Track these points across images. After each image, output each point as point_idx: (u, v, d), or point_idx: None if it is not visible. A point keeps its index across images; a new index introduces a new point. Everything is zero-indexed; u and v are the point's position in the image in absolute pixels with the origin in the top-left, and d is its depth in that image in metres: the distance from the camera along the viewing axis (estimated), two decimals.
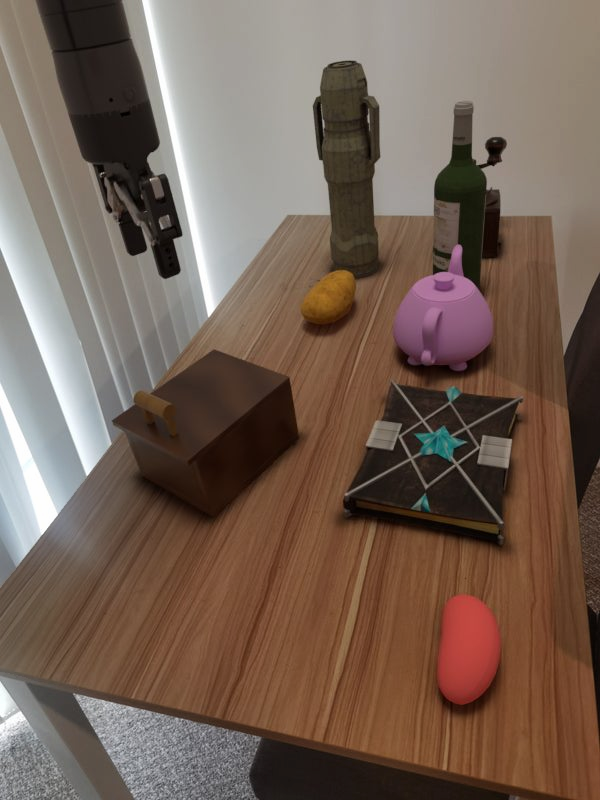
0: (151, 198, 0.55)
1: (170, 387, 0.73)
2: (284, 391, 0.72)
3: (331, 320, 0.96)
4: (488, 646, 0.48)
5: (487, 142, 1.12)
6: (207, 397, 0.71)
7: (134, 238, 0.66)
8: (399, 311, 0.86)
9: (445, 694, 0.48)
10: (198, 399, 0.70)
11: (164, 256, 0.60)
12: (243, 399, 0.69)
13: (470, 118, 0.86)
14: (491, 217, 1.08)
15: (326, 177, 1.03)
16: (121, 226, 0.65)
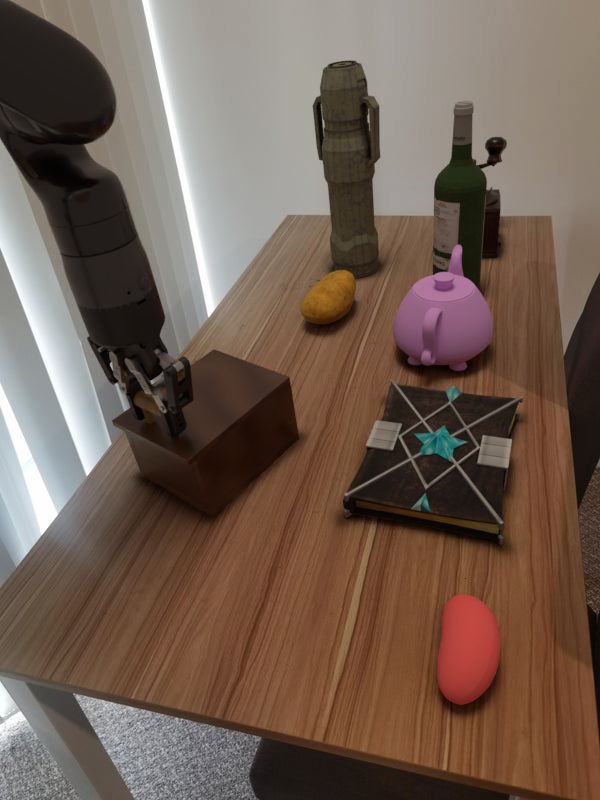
0: (175, 383, 0.57)
1: None
2: (284, 391, 0.72)
3: (331, 320, 0.96)
4: (488, 646, 0.48)
5: (487, 142, 1.12)
6: (207, 397, 0.71)
7: None
8: (399, 311, 0.86)
9: (445, 694, 0.48)
10: (198, 399, 0.70)
11: (175, 419, 0.63)
12: (243, 399, 0.69)
13: (470, 118, 0.86)
14: (491, 217, 1.08)
15: (326, 177, 1.03)
16: (130, 397, 0.65)
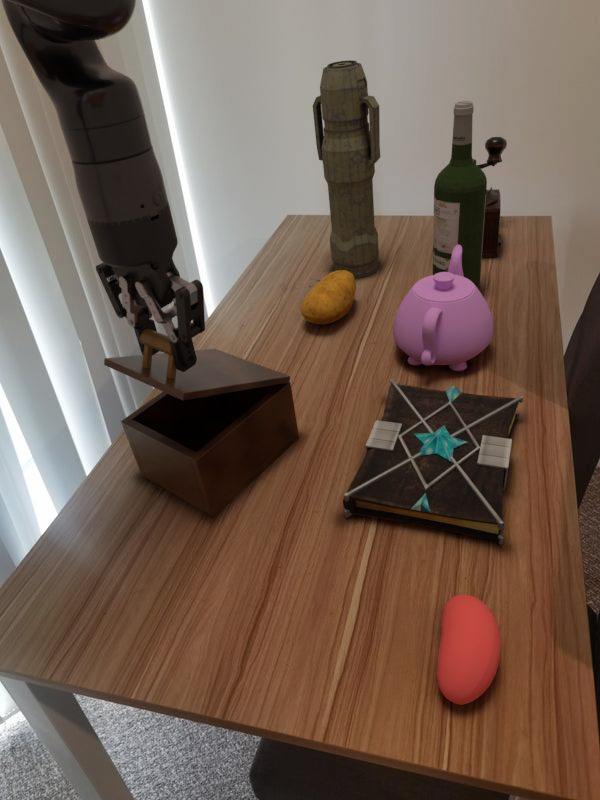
0: (187, 306, 0.56)
1: None
2: (284, 391, 0.72)
3: (331, 320, 0.96)
4: (488, 646, 0.48)
5: (487, 142, 1.12)
6: (207, 368, 0.69)
7: None
8: (399, 311, 0.86)
9: (445, 694, 0.48)
10: (197, 367, 0.69)
11: (185, 351, 0.61)
12: (244, 376, 0.68)
13: (470, 118, 0.86)
14: (491, 217, 1.08)
15: (326, 177, 1.03)
16: (138, 330, 0.63)
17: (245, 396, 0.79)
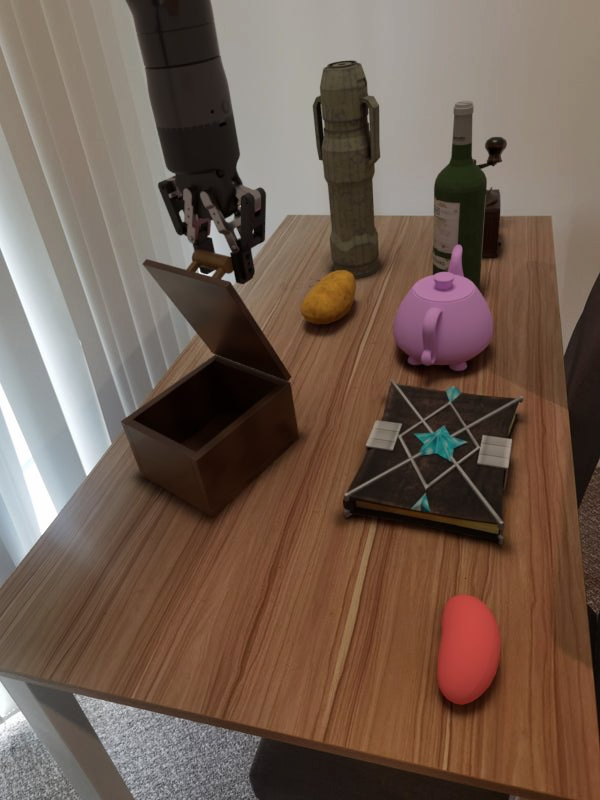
0: (252, 212, 0.58)
1: None
2: (284, 391, 0.72)
3: (331, 320, 0.96)
4: (488, 646, 0.48)
5: (487, 142, 1.12)
6: None
7: None
8: (399, 311, 0.86)
9: (445, 694, 0.48)
10: None
11: (245, 262, 0.64)
12: None
13: (470, 118, 0.86)
14: (491, 217, 1.08)
15: (326, 177, 1.03)
16: (198, 246, 0.66)
17: (245, 396, 0.79)
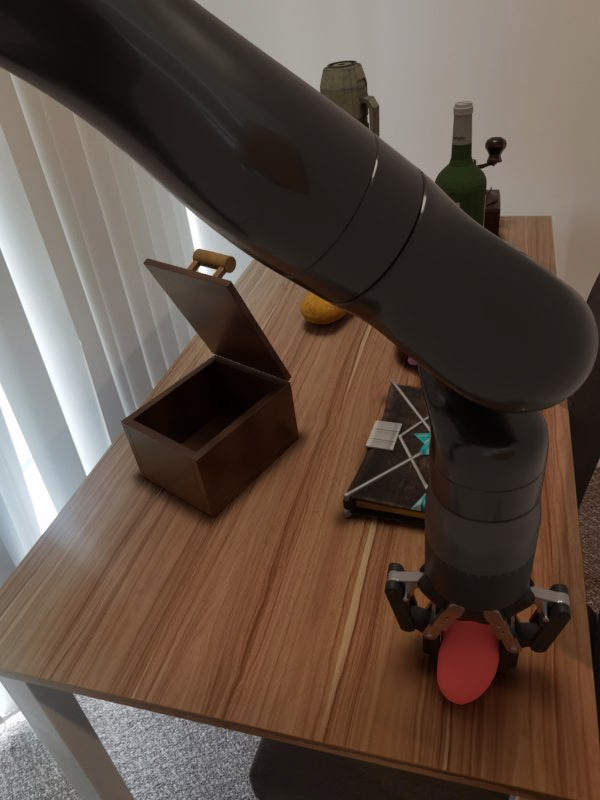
0: None
1: None
2: (284, 391, 0.72)
3: (331, 320, 0.96)
4: (488, 646, 0.48)
5: (487, 142, 1.12)
6: None
7: None
8: None
9: (445, 694, 0.48)
10: None
11: None
12: None
13: (470, 118, 0.86)
14: (491, 217, 1.08)
15: None
16: (439, 641, 0.49)
17: (245, 396, 0.79)
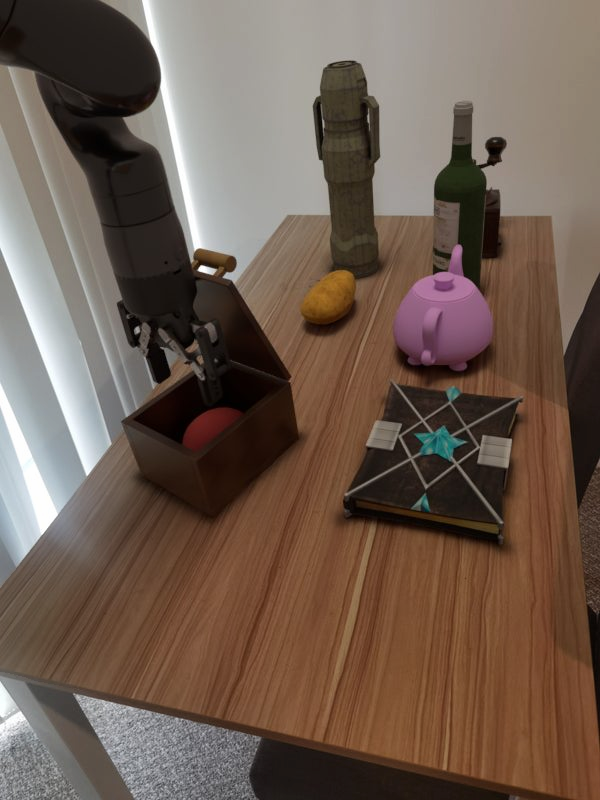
0: (208, 343, 0.59)
1: None
2: (284, 391, 0.72)
3: (331, 320, 0.96)
4: None
5: (487, 142, 1.12)
6: None
7: (160, 367, 0.69)
8: (399, 311, 0.86)
9: None
10: None
11: (212, 388, 0.64)
12: None
13: (470, 118, 0.86)
14: (491, 217, 1.08)
15: (326, 177, 1.03)
16: (150, 359, 0.68)
17: (245, 396, 0.79)
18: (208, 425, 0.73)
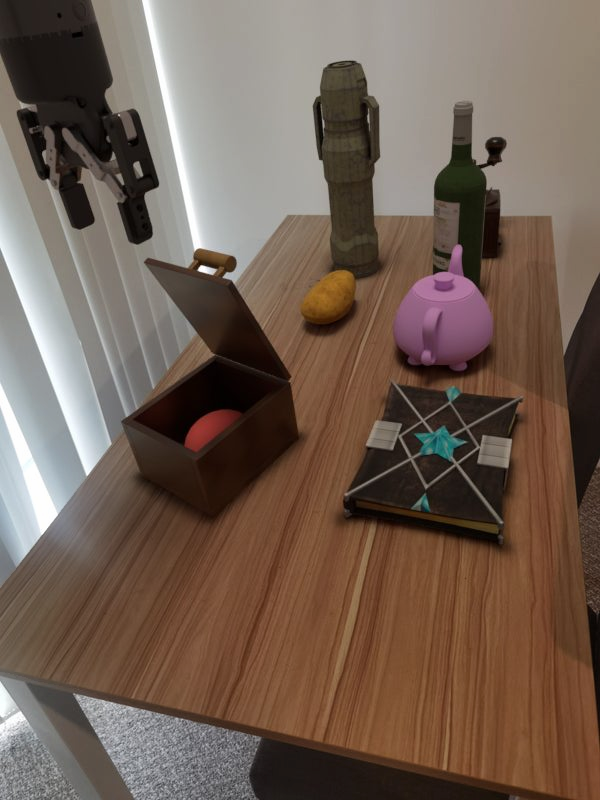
0: (123, 138, 0.45)
1: None
2: (284, 391, 0.72)
3: (331, 320, 0.96)
4: None
5: (487, 142, 1.12)
6: None
7: (79, 207, 0.55)
8: (399, 311, 0.86)
9: None
10: None
11: (136, 215, 0.49)
12: None
13: (470, 118, 0.86)
14: (491, 217, 1.08)
15: (326, 177, 1.03)
16: (63, 192, 0.54)
17: (245, 396, 0.79)
18: (212, 429, 0.73)
